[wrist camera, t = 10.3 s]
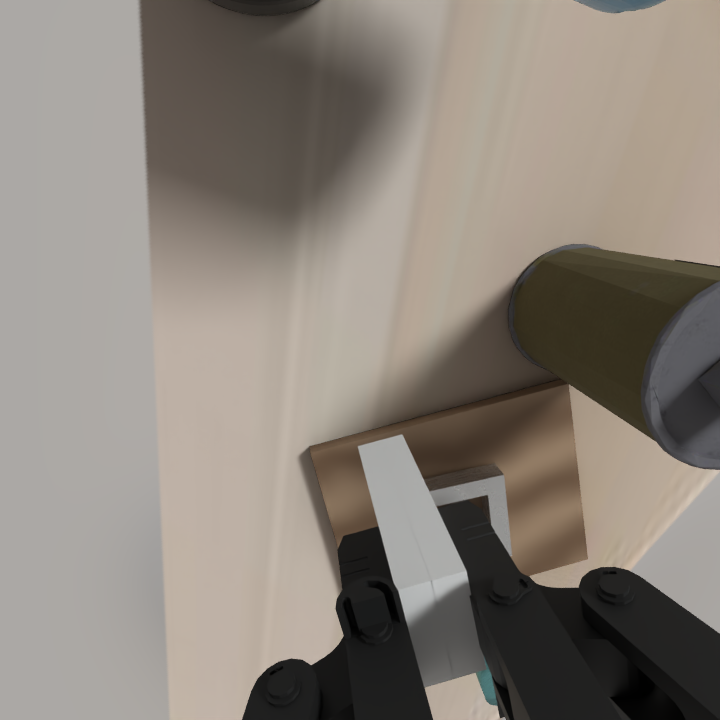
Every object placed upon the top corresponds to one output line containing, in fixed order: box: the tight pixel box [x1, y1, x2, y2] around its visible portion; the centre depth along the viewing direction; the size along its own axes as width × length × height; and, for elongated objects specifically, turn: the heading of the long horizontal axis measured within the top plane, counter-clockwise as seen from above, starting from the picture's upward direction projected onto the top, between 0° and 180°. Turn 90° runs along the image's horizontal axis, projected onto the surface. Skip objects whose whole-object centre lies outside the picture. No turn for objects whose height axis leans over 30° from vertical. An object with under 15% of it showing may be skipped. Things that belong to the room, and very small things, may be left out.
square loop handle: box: [424, 463, 512, 706], centre depth 43 cm, size 17×8×8 cm, turn 10°
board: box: [310, 379, 588, 576], centre depth 43 cm, size 18×22×7 cm
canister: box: [508, 244, 720, 470], centre depth 33 cm, size 11×10×20 cm
